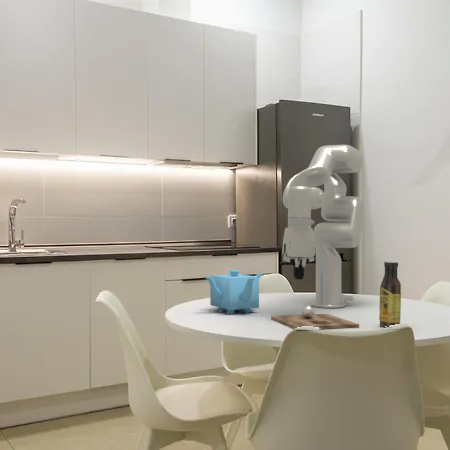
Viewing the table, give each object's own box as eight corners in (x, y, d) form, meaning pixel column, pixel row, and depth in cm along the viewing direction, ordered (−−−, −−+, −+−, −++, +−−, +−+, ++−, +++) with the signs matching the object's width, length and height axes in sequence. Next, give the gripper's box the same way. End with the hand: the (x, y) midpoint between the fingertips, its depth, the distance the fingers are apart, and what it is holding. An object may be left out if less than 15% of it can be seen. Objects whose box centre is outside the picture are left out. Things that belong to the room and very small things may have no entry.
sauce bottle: (376, 324, 193) (376, 260, 192) (396, 324, 193) (396, 260, 193) (383, 328, 186) (384, 262, 186) (404, 328, 187) (404, 262, 186)
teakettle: (216, 307, 231) (216, 267, 231) (266, 309, 227) (266, 268, 226) (201, 314, 213) (201, 271, 213) (255, 316, 208) (255, 272, 208)
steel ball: (311, 316, 202) (311, 304, 202) (316, 318, 198) (316, 306, 198) (299, 317, 200) (299, 305, 200) (304, 319, 197) (304, 306, 197)
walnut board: (326, 316, 209) (326, 313, 209) (359, 327, 188) (359, 324, 188) (271, 319, 203) (271, 316, 203) (298, 330, 182) (298, 327, 182)
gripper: (315, 224, 211) (314, 278, 211) (274, 223, 207) (273, 278, 207) (324, 223, 204) (324, 279, 204) (282, 223, 200) (281, 280, 199)
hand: (298, 279), depth 205 cm, fingers closed
